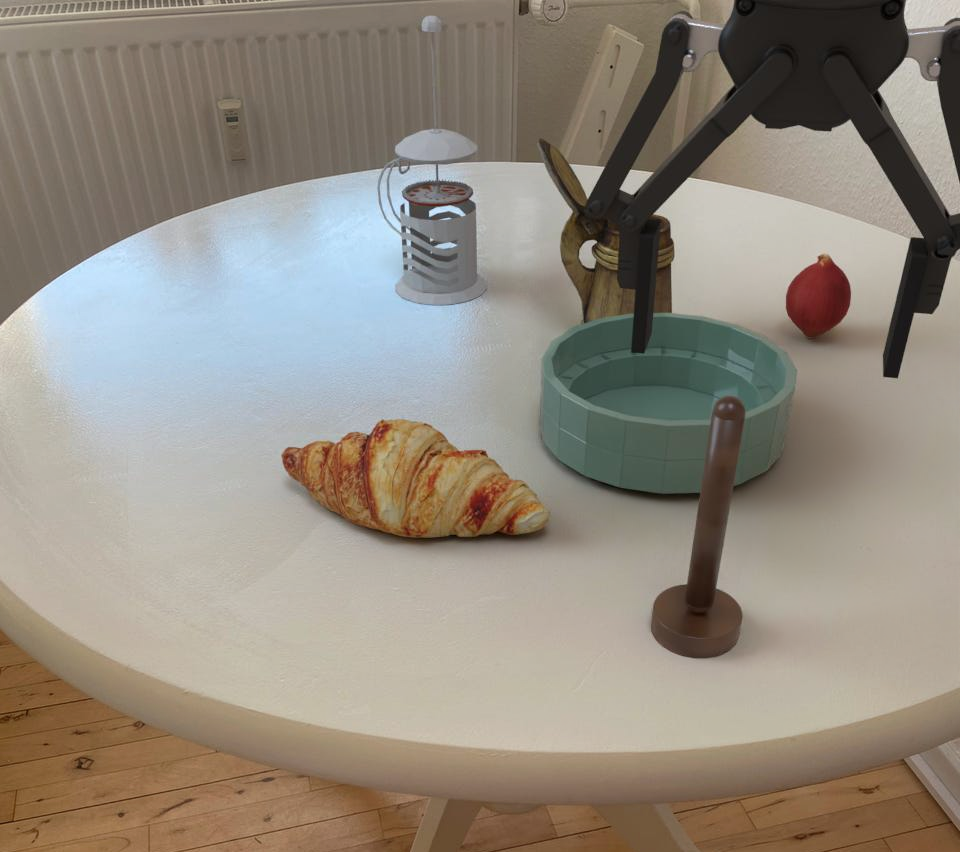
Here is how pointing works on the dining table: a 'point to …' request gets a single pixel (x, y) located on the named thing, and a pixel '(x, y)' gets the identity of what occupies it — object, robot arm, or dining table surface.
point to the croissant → (414, 484)
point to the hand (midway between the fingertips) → (762, 355)
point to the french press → (436, 216)
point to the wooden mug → (601, 249)
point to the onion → (818, 297)
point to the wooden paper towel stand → (706, 552)
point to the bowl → (661, 399)
